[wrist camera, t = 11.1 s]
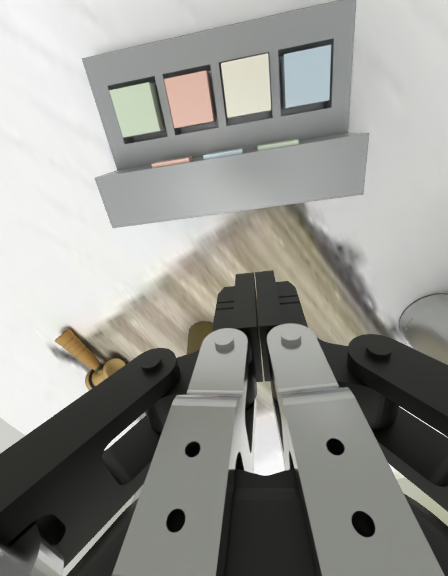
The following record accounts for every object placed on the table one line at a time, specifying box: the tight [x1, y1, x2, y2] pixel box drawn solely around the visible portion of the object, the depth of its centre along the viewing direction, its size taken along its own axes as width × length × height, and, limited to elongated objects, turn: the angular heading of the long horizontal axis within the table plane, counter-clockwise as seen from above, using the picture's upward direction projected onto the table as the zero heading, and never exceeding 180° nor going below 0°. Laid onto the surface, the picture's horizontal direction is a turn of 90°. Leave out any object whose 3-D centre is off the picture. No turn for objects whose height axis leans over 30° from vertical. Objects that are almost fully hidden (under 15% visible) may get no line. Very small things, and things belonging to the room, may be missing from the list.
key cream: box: [221, 53, 271, 119], centre depth 26 cm, size 4×4×4 cm
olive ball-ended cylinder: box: [187, 322, 213, 355], centre depth 43 cm, size 6×6×11 cm
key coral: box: [164, 70, 216, 128], centre depth 28 cm, size 4×4×4 cm
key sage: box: [109, 82, 166, 137], centre depth 29 cm, size 4×4×4 cm
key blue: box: [281, 45, 331, 109], centre depth 26 cm, size 4×4×4 cm
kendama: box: [55, 329, 126, 390], centre depth 50 cm, size 8×6×18 cm
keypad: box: [82, 0, 369, 228], centre depth 28 cm, size 25×15×10 cm, turn 99°
